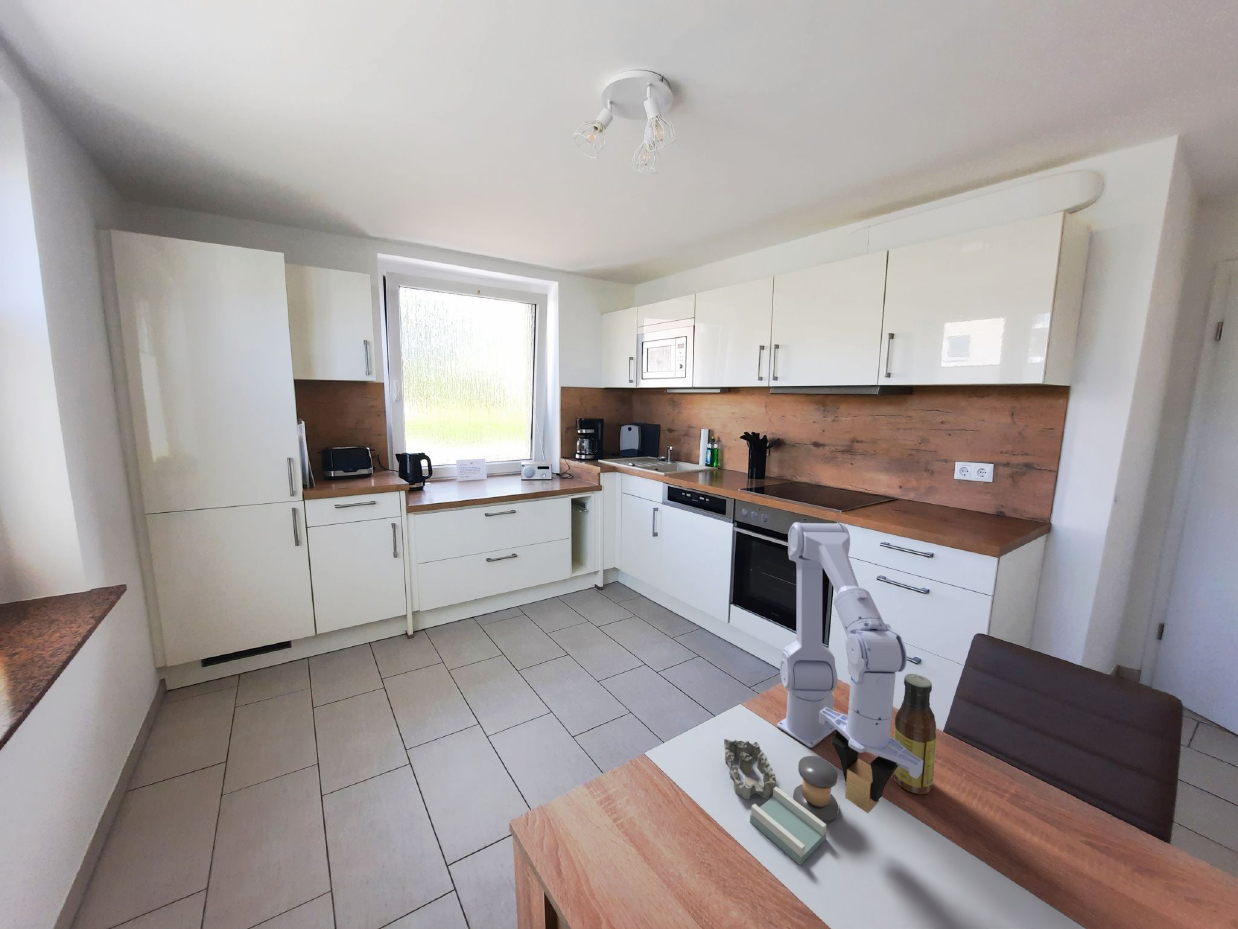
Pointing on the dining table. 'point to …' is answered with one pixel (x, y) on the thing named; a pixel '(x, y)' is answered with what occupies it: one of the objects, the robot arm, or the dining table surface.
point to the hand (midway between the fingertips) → (863, 788)
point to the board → (789, 825)
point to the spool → (817, 788)
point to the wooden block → (860, 785)
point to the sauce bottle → (916, 733)
